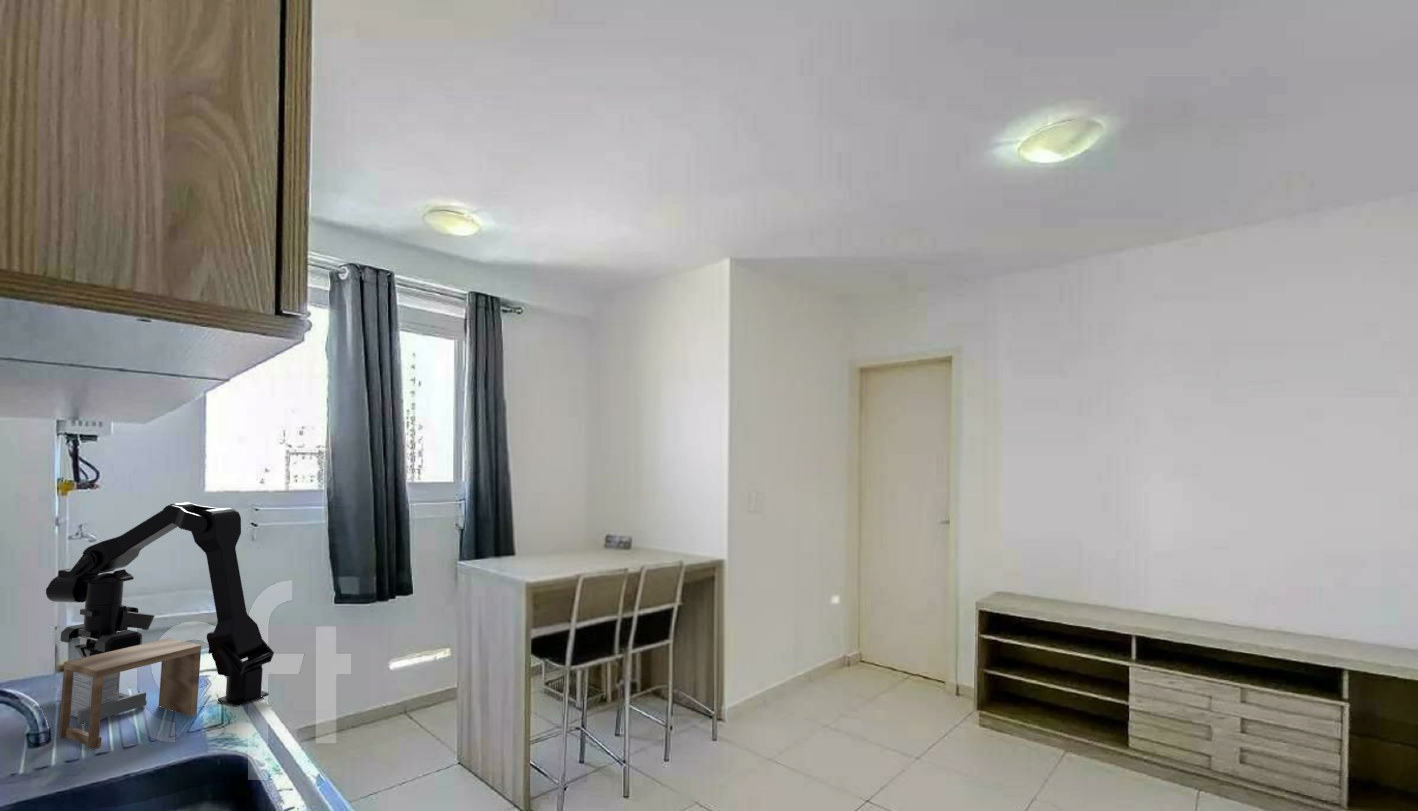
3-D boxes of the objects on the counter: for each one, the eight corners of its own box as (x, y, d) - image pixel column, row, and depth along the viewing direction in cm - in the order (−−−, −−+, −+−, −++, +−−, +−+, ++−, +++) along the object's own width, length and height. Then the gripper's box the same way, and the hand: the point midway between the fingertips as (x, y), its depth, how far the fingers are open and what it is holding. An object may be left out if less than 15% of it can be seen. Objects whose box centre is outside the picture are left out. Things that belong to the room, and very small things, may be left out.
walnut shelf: (196, 714, 123) (201, 645, 124) (90, 749, 109) (96, 671, 109) (164, 704, 128) (169, 638, 128) (58, 737, 113) (64, 661, 114)
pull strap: (151, 704, 127) (153, 673, 127) (79, 725, 117) (82, 692, 117) (91, 685, 136) (93, 657, 136) (19, 704, 126) (22, 673, 126)
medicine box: (118, 714, 123) (121, 668, 123) (88, 723, 119) (92, 676, 119) (97, 707, 126) (100, 662, 127) (67, 715, 122) (71, 669, 122)
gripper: (173, 599, 138) (168, 672, 137) (126, 591, 145) (121, 660, 144) (109, 611, 128) (103, 690, 127) (62, 601, 135) (56, 676, 134)
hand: (98, 678), depth 133 cm, fingers closed
